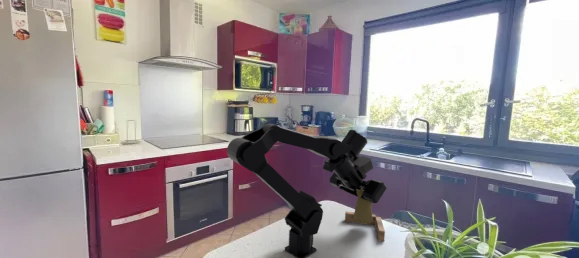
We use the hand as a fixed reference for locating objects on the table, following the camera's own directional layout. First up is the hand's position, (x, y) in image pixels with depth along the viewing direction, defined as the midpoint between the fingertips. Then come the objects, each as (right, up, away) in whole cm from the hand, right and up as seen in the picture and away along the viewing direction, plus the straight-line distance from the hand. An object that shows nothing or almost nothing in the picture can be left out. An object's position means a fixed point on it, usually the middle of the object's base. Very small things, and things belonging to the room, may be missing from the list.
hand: (367, 199), depth 85 cm
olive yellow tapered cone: (-2, -7, 0) cm, 7 cm away
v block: (+1, -10, +2) cm, 10 cm away
